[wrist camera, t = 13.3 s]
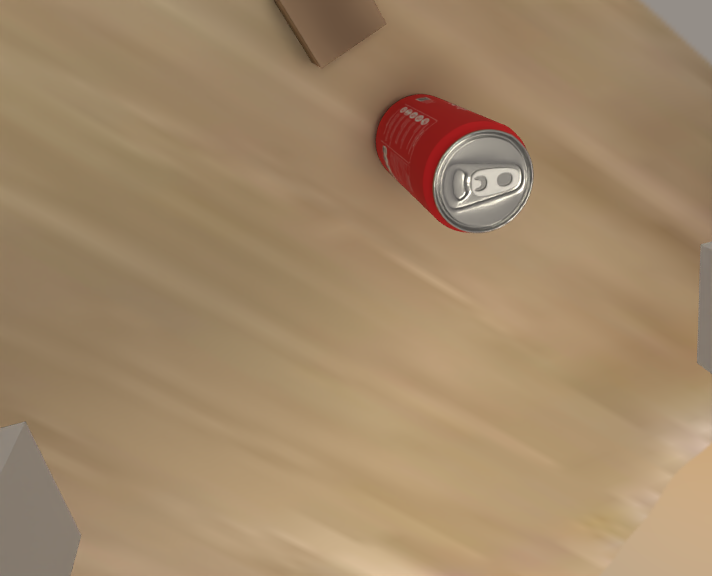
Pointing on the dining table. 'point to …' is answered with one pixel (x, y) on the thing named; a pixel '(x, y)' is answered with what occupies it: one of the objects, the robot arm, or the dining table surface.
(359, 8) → the walnut cube
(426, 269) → the dining table surface
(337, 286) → the dining table surface
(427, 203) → the beverage can
